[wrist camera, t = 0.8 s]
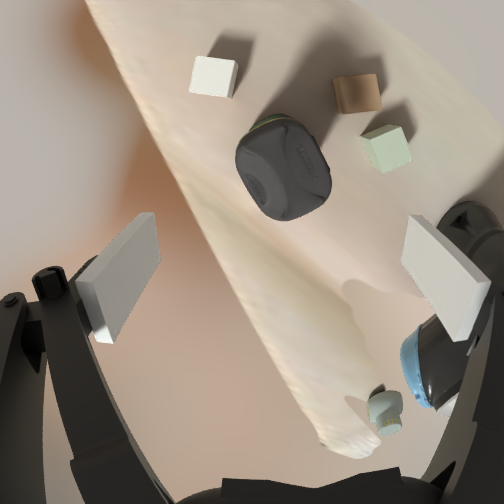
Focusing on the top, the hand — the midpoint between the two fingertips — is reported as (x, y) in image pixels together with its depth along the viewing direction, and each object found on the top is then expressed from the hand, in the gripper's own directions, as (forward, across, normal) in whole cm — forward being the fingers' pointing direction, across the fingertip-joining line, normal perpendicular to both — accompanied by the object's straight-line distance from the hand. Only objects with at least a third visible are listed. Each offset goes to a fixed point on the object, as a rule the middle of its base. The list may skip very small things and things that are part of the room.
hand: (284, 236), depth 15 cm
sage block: (+31, -16, -1) cm, 35 cm away
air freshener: (+30, -28, +56) cm, 70 cm away
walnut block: (+31, -11, -9) cm, 34 cm away
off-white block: (+31, +8, -10) cm, 34 cm away
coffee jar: (+31, -1, 0) cm, 31 cm away
